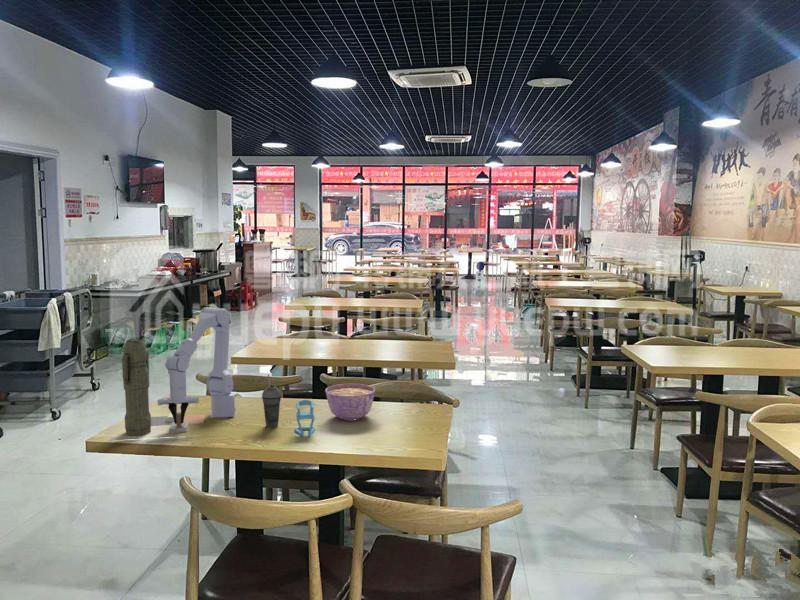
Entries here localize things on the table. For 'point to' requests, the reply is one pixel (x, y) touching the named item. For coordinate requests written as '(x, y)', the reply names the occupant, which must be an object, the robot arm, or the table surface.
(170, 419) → the block
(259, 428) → the table surface
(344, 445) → the table surface
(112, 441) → the table surface
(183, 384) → the robot arm
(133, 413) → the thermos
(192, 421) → the mat
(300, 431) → the chair
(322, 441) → the table surface
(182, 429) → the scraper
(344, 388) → the bowl of food
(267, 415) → the beverage cup
